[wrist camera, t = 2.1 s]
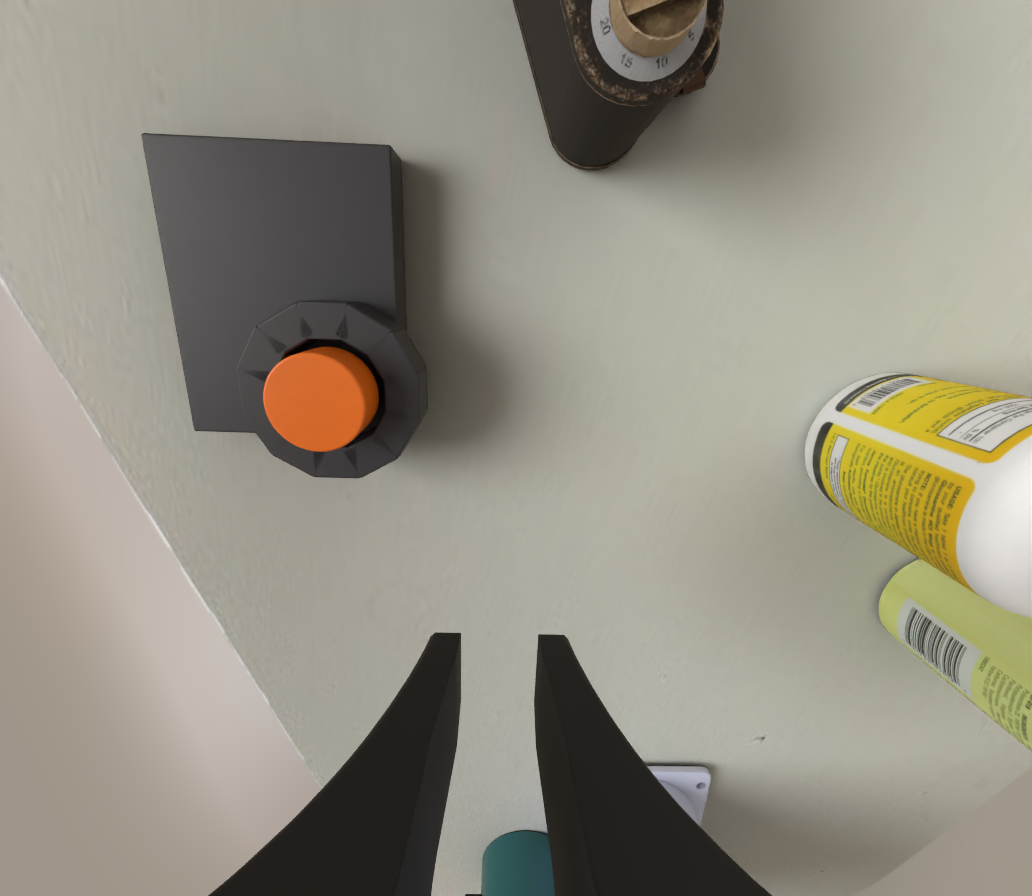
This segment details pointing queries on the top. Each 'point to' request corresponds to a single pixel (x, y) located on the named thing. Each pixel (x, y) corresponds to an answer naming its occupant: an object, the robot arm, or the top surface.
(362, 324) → the push button switch
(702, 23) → the camera
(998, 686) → the tube
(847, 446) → the pill bottle
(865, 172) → the top surface
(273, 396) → the switch button
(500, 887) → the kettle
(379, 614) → the top surface
